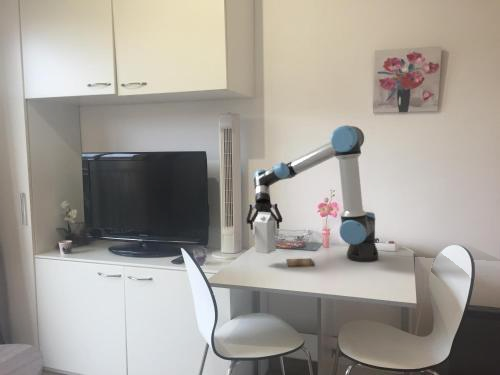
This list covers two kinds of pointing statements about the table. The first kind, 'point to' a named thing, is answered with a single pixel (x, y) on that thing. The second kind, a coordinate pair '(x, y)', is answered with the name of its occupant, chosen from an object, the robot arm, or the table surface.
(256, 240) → the milk carton
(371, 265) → the table surface
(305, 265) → the walnut board
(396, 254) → the table surface
